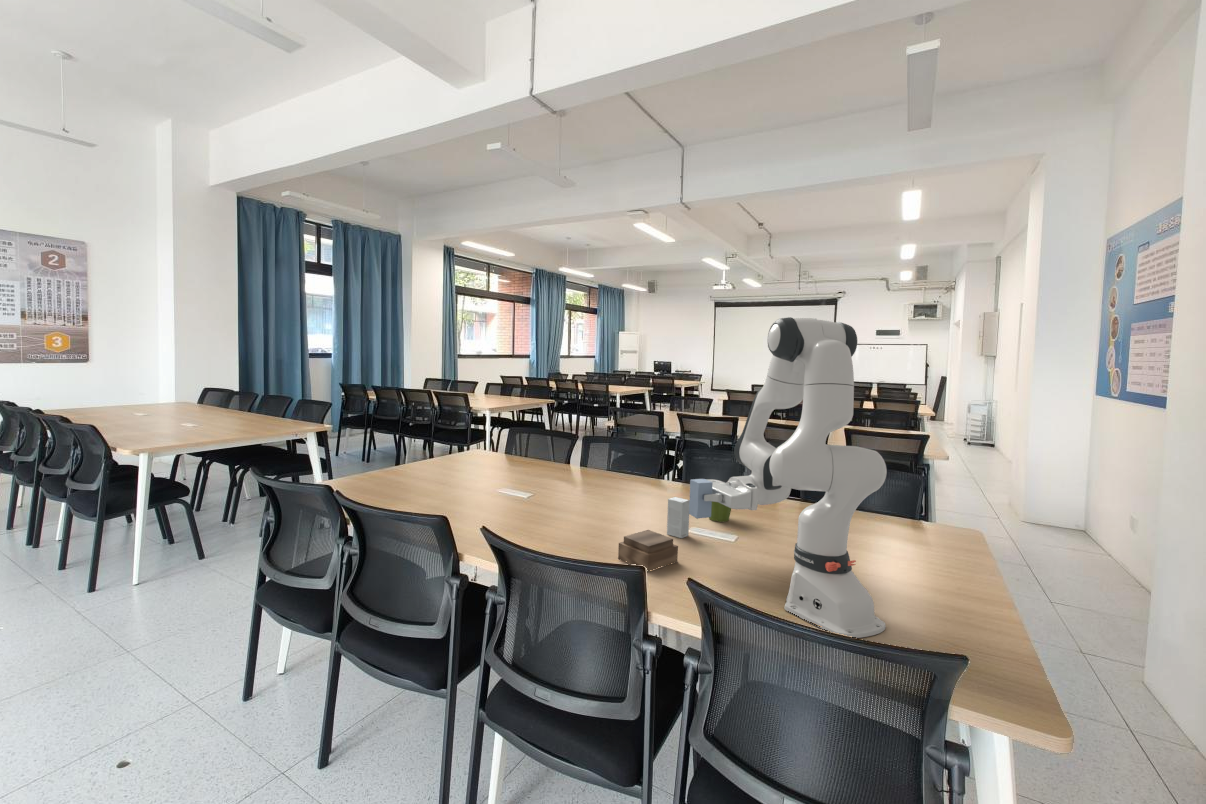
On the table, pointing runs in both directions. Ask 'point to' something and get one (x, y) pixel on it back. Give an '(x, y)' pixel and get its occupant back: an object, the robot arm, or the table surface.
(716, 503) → the plant pot
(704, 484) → the slate block
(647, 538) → the walnut block
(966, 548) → the table surface
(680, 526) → the skincare box
